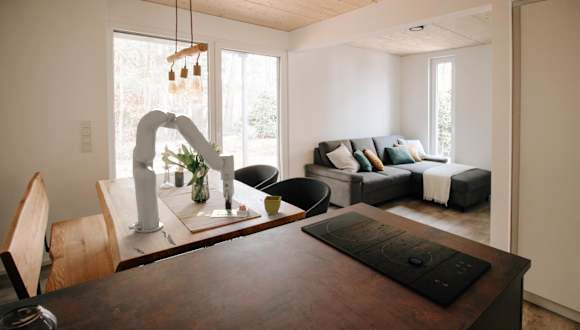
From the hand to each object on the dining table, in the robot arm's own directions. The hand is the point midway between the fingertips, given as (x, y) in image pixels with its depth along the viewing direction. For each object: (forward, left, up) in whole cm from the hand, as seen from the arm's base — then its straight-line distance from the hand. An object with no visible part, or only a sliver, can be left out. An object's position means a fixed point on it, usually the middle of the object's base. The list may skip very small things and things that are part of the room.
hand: (228, 207), depth 177 cm
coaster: (-9, +11, -4) cm, 14 cm away
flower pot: (+15, -20, -4) cm, 25 cm away
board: (0, -1, -4) cm, 4 cm away
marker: (0, 0, -3) cm, 3 cm away
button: (+5, -6, -2) cm, 8 cm away
